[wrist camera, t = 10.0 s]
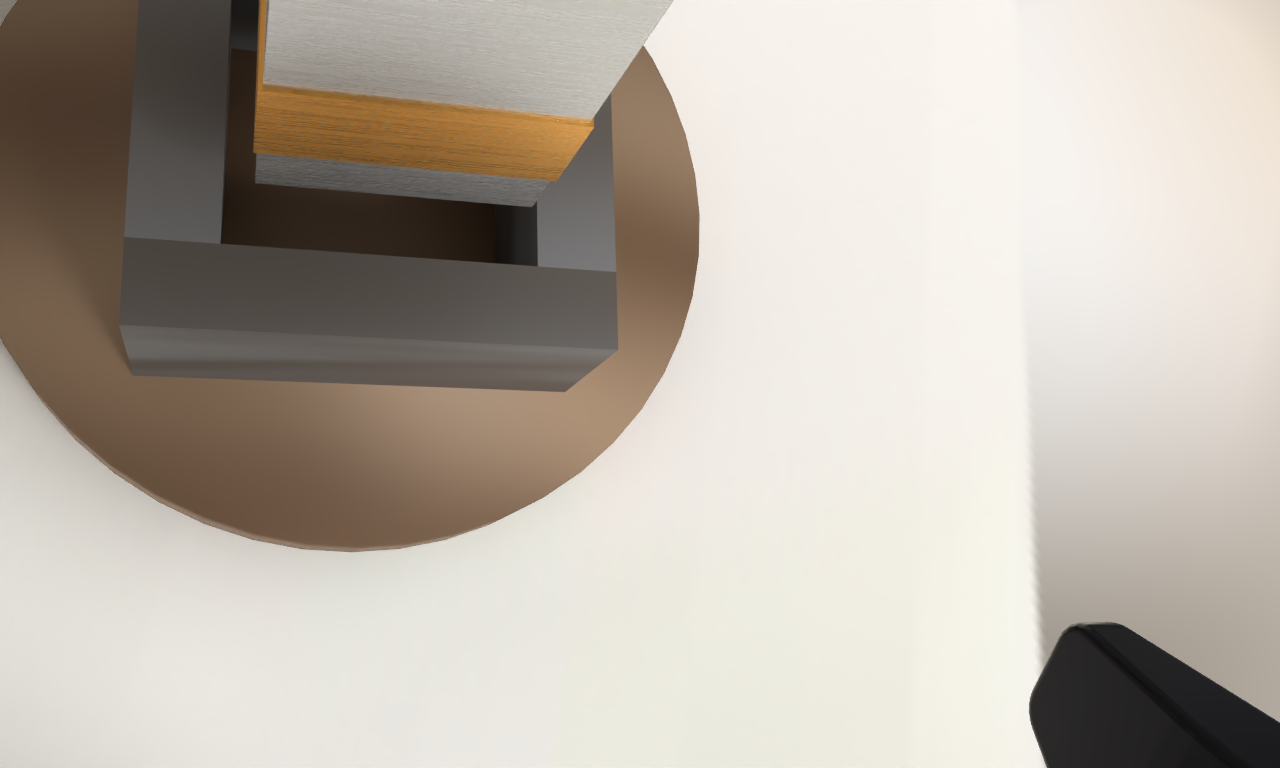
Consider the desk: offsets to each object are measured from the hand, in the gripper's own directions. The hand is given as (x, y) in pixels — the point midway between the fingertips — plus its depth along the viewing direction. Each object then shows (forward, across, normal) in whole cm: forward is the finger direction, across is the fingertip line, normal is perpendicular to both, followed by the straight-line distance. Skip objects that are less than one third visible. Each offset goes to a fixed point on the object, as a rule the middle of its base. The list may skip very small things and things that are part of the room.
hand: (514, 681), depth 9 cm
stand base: (+14, 0, +3) cm, 14 cm away
